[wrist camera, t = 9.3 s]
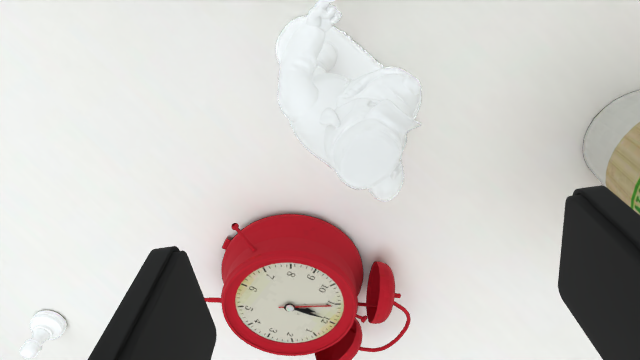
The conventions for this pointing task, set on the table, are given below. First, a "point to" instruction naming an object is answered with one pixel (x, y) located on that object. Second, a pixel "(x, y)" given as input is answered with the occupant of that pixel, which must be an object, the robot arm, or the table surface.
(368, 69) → the figurine
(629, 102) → the coffee cup
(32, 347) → the chess pawn
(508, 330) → the table surface
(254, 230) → the alarm clock
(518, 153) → the table surface
